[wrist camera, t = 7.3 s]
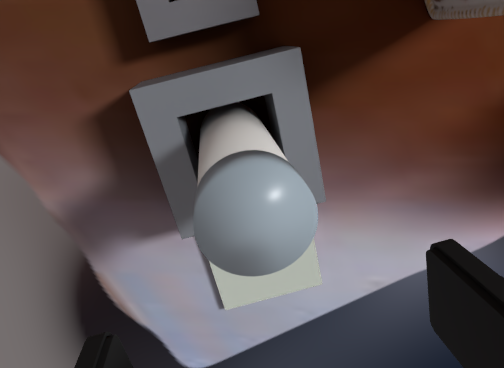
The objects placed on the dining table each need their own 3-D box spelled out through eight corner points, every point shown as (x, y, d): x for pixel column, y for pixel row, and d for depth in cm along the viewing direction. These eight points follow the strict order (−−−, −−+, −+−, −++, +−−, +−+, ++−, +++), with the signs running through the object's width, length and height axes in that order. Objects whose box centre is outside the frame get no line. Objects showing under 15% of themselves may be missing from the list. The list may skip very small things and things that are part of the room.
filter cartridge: (190, 110, 29) (176, 183, 15) (255, 93, 30) (306, 149, 15) (208, 171, 31) (212, 289, 17) (269, 155, 32) (326, 258, 17)
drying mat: (200, 230, 33) (200, 233, 33) (305, 202, 34) (307, 205, 33) (224, 306, 37) (225, 310, 36) (320, 280, 37) (322, 284, 37)
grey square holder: (141, 81, 28) (128, 90, 24) (284, 45, 28) (300, 47, 24) (185, 210, 33) (181, 239, 28) (309, 178, 33) (326, 201, 28)
